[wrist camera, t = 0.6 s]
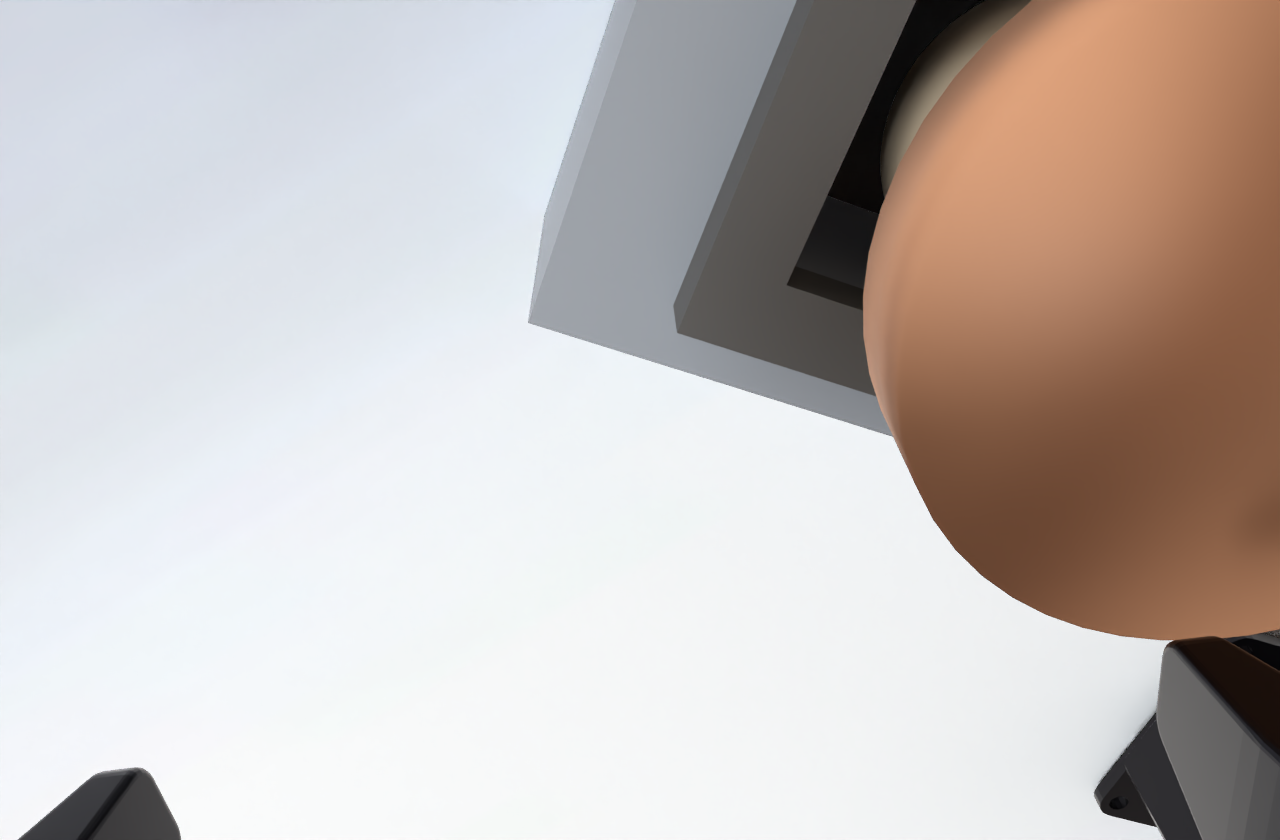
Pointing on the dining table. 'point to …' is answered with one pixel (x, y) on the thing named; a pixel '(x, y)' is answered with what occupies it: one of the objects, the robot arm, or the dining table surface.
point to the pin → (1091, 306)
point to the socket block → (723, 196)
